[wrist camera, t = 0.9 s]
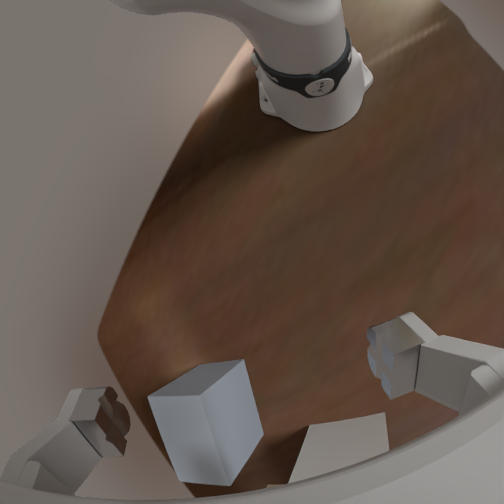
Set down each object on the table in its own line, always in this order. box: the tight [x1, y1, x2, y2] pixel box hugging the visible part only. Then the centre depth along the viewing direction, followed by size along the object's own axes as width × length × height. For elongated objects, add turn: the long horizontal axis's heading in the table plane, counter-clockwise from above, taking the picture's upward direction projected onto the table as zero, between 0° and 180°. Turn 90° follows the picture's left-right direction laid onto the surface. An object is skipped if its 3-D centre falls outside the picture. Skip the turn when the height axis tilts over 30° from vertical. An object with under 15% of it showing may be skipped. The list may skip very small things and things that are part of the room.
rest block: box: [147, 359, 264, 486], centre depth 41 cm, size 14×8×15 cm, turn 14°
